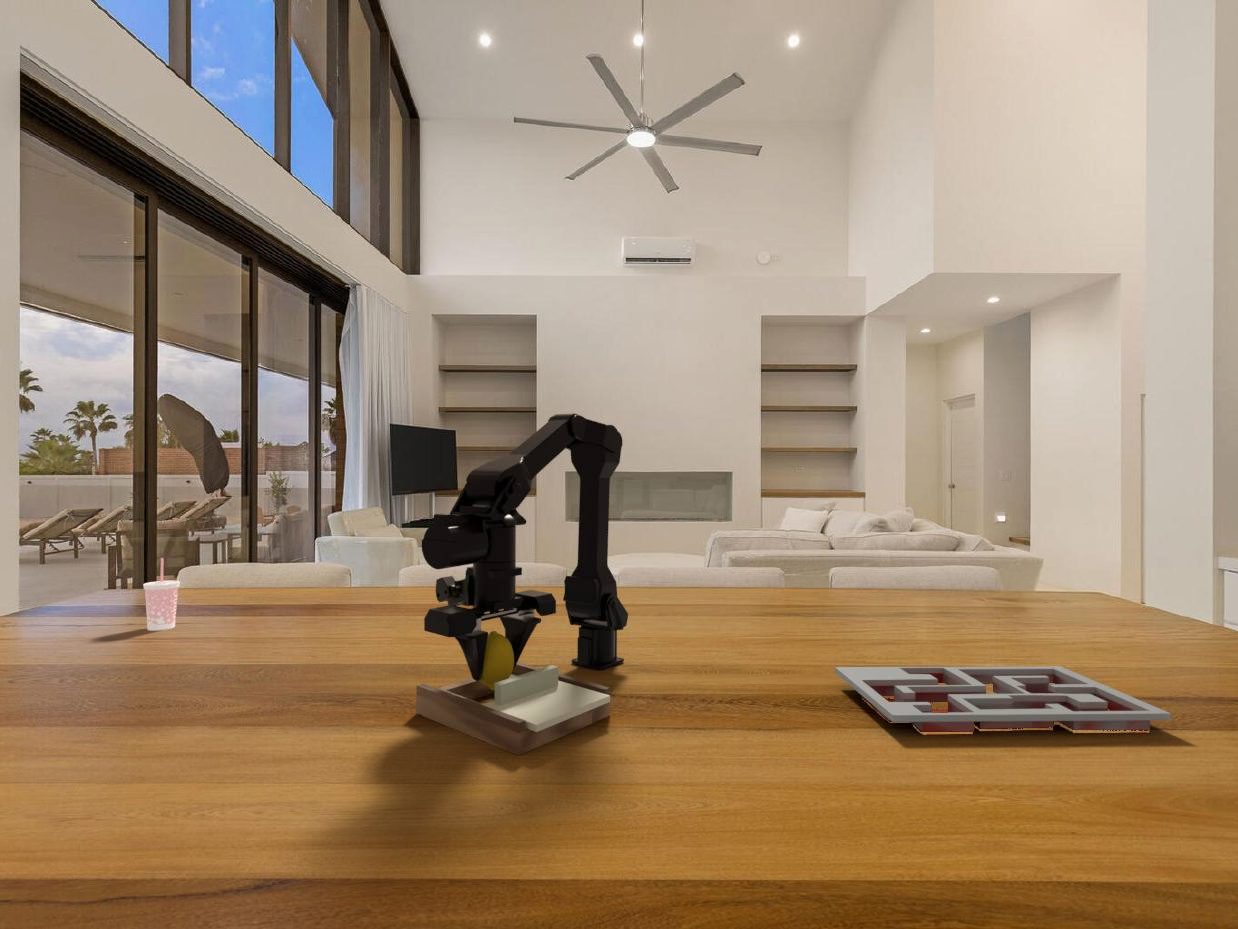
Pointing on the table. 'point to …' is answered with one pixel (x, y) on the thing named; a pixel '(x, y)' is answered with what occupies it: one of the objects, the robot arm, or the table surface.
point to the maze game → (998, 698)
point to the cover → (543, 698)
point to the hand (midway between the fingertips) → (493, 674)
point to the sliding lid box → (499, 713)
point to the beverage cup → (161, 603)
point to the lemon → (497, 660)
